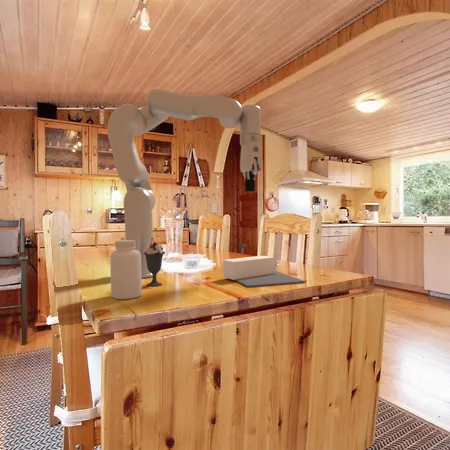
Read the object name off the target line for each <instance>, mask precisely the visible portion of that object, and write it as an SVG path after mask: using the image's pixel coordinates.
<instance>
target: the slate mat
mask: <svg viewBox="0 0 450 450" xmlns="http://www.w3.org/2000/svg"><path fill="white" fill-rule="evenodd" d="M233 281H235V282H236V283H238V284H241V286H244V287H246V288H257V287H269V286H270V287H272V286H282V285H284V284H285V285H295V284H296V283H298V284H305V283H306V280H304V279H300V278H298V277H296V276H295V277H294V276H291V275H288V274H285V273H282V272H280V271H277V270H275V273H274V274H268V275H262V276H255V277H249V278H242V279H235V280H233Z"/></svg>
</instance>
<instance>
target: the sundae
mask: <svg viewBox="0 0 450 450" xmlns="http://www.w3.org/2000/svg"><path fill="white" fill-rule="evenodd" d="M151 239H152V240H153V244H152V240H151V245H150V247H149V248H148V250H147V252H144V254H145V256H146V262H147V268H148V271H149V272H150V273H152V275H153V277H152V280H151V282H148V283H146V286H147V287H151V288H152V287H155V288H157V287H160V286H163V283H161V282H158V280H157V275H158V273H159V272H160V271H161V268H162V263H163V257H164V255H166V254H165V253H166V252H165V251H164V247H162V246H161V245H159V244H158V242H155V241H154V237H152V238H151ZM156 274H157V275H156Z"/></svg>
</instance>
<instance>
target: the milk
mask: <svg viewBox="0 0 450 450" xmlns="http://www.w3.org/2000/svg"><path fill="white" fill-rule="evenodd" d="M278 266H280V263H277V260H276V258H275V256H267V255H256V256H255V255H254V256H248V257H247V256H245V257H237V258H229V259H222V278H225V279H229V280H232V281H234V280H235V279H242V278H249V277H255V276H262V275H268V274H274V273H275V271H277V268H278Z"/></svg>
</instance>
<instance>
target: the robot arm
mask: <svg viewBox="0 0 450 450" xmlns="http://www.w3.org/2000/svg"><path fill="white" fill-rule="evenodd" d="M204 117H205V118H206V117H208V118H209V117H210V118H216V119H218V121H219V124H220V125H221V127H223V128H224V129H236V128H237V129H238V128H239V145H240V147H241V148H240V161H239V163H240V164H239V167H240V169H239V170H240V172H241V173H242V176H243V177H244V191H245V192H255V191H256V190H255V189H256V188H255V186H256V184H255V182H256V175H257V174H258V172H261V170H262V169H263V154H262V146H261V142H262V141H261V139H262V138H261V136H262V135H261V134H262V130H261V129H262V126H261V125H262V109H261V107H260V106H259V105H255V104H246V105H243V106H242V105H241V104H240V102H238V101H237V100H236V99H234V98H231V97H226V96H223V95H222V96H220V95H215V94H203V95H201V94H200V95H199V94H198V95H192V94H191V95H190V94H186V93H180V92H175V91H171V90H165V89H159V88H154V89H152V90H150V91H149V92H148V93H147V96H146V105H145V106H143V107H141V108H138V106H135V105H134V104H131V103H123V104H121V105H118V106H117V107H116V108H115V109H114V110H113V111H112V112H111V114H110V116H109V118H108V121H107V127H106V128H107V137H108V141H109V145H110V150H111V154H112V156H113V161H114V165H115V168H116V171H117V176H118V178H119V179H120V181H121V182H122V183H124V185H125V188H126V189H125V190H126V193H125V194H124V198H123V211H124V213H123V214H124V236H125V237H124V238H125V239H124V240H135V241H136V246H135V247H136V248H135V250H137V251H139V252H140V254H141V279H145V278H146V279H147V278H151V277H152V278H153V275H152V273H150V272H149V271H148V268H147V262H146V256H145V254H144V252H147V250H148V248H149V247H150V245H151V240H152V239H151V238H152V237H153V231H154V230H153V209H154V207H155V205H156V198H155V194H154V190H153V186H152V183H151V179H150V176H149V173H148V169H147V168H146V166H145V165H144V164H143V163H142V161H141V159H140V156H139V153H138V149H137V146H136V142H135V140H134V137H140V136H142V135H144V134H146V133H147V132H149V131H151V130H152V129H154V128H155V127H157V126H159V125H160V124H162V123H163V122H165V121H167V120H168V118H174V119H175V118H176V119H180V120H186V121H192V120H193V121H194V120H196V119H199V118H204ZM153 238H154V237H153ZM153 243H154V239H153V240H152V244H153ZM156 276H158V273H157V274H156Z"/></svg>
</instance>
